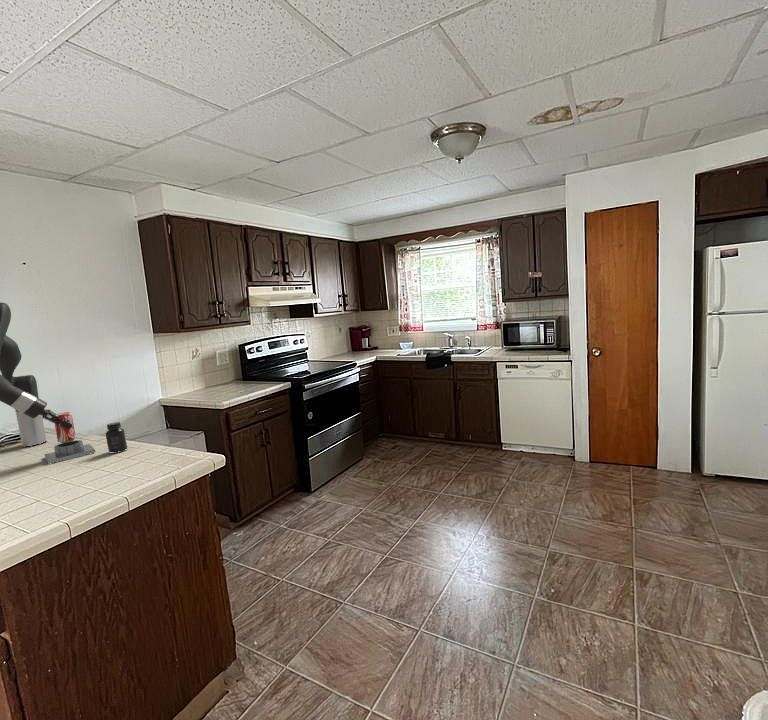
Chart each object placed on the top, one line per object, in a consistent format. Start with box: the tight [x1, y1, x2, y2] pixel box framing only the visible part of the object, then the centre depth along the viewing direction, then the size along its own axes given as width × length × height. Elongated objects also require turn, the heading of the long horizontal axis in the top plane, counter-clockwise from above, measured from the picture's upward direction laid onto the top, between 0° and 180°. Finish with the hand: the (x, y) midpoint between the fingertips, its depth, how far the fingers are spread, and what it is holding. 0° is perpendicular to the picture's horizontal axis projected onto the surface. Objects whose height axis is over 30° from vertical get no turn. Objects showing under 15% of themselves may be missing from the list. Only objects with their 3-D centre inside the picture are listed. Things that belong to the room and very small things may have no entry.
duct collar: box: [44, 439, 96, 465], centre depth 182 cm, size 14×16×5 cm
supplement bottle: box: [105, 421, 128, 453], centre depth 182 cm, size 7×7×12 cm
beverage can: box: [54, 411, 77, 444], centre depth 181 cm, size 6×6×12 cm
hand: (69, 426), depth 182 cm, fingers closed on beverage can, 6 cm apart
